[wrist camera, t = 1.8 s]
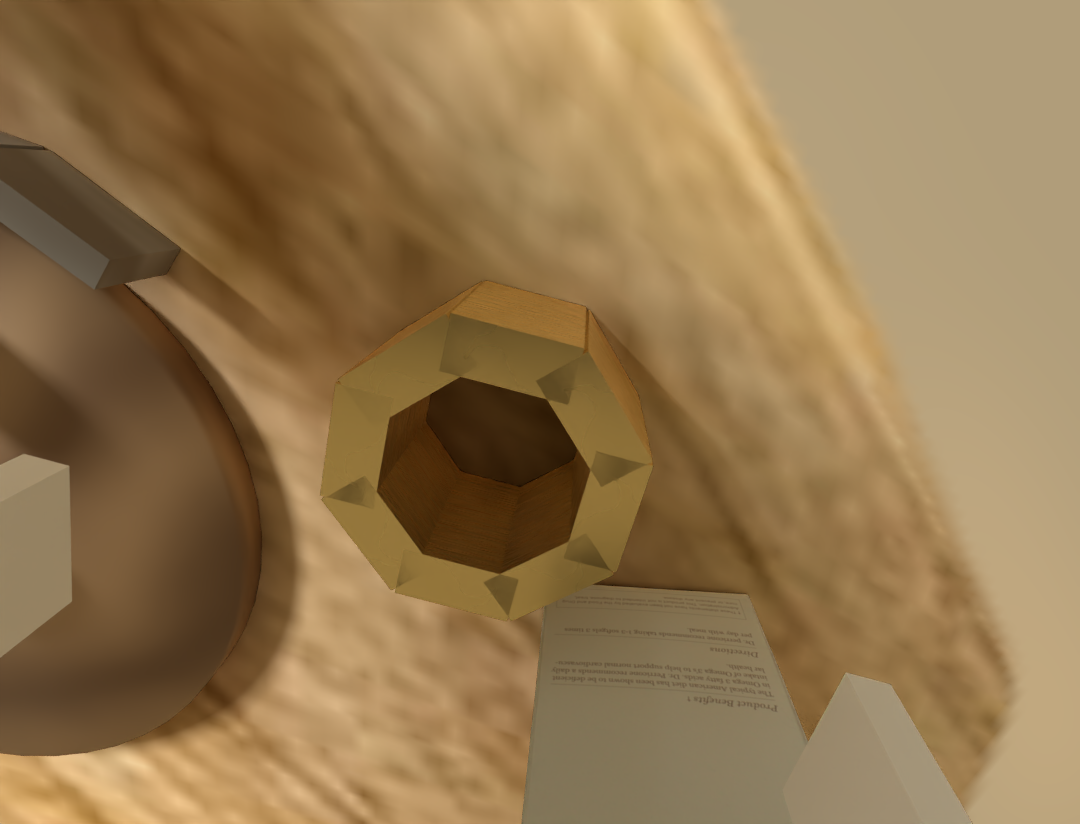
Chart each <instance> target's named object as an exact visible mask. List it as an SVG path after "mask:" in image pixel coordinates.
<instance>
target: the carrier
mask: <svg viewBox="0 0 1080 824" xmlns="http://www.w3.org/2000/svg"><path fill="white" fill-rule="evenodd" d="M180 249H181V248H179V247H178V246H177V245H175V244H174V243H173V242H171V241H170V240H169V239H167V238H166V237H165V236H163V235H162V234H161V233H159V232H158V231H157V230H155V229H154V228H153V227H151V226H150V225H149V224H147V223H146V222H145V221H143V220H142V219H141V218H140V217H138V216H137V215H136V214H134V213H133V212H132V211H130V210H129V209H128V208H126V207H125V206H124V205H122V204H121V203H120V202H118V201H117V200H116V199H114V198H113V197H112V196H110V195H109V194H108V193H106V192H105V191H104V190H102V189H101V188H100V187H98V186H97V185H96V184H94V183H93V182H92V181H90V180H89V179H88V178H87V177H85V176H84V175H83V174H81V173H80V172H79V171H77V170H76V169H75V168H73V167H72V166H71V165H69V164H68V163H67V162H65V161H64V160H63V159H61V158H60V157H59V156H57V155H56V154H55V153H53V152H52V151H49V150H44V147H43V146H40V145H37V144H35V143H32V142H29V141H26V140H23V139H21V138H18V137H15V136H12V135H9V134H7V133H4V132H1V131H0V465H1V464H3V463H5V462H7V461H10V460H12V459H14V458H16V457H18V456H20V455H22V454H27V455H30V456H34V457H38V458H42V459H45V460H49V461H53V462H57V463H60V464H64V465H68V466H69V474H70V523H71V572H72V602H71V603H69V604H68V605H67V606H65V607H64V608H63V609H62V610H60V611H59V612H58V613H57V614H55V615H54V616H53V617H51V618H50V619H49V620H48V621H46V622H45V623H44V624H43V625H41V626H40V627H39V628H37V629H36V630H35V631H34V632H32V633H31V634H30V635H29V636H27V637H26V638H25V639H23V640H22V641H21V642H20V643H18V644H17V645H16V646H14V647H13V648H12V649H11V650H9V651H8V652H7V653H6V654H4V655H3V656H2V657H0V753H3V754H12V755H21V756H60V755H69V754H79V753H88V752H92V751H96V750H100V749H104V748H109V747H113V746H117V745H119V744H122V743H125V742H127V741H130V740H132V739H135V738H137V737H140V736H143V735H145V734H146V733H148V732H150V731H152V730H153V729H155V728H157V727H159V726H160V725H162V724H164V723H165V722H167V721H169V720H170V719H171V718H172V717H174V716H175V715H176V714H177V713H179V712H180V711H181V710H182V709H183V708H185V707H186V706H187V705H188V704H189V703H191V701H192V700H193V699H194V698H195V697H196V696H197V694H198V693H199V692H200V691H201V690H202V688H203V687H204V686H205V685H206V684H207V683H208V681H209V680H210V679H211V678H212V676H213V675H214V674H215V672H216V671H217V670H218V668H219V667H220V666H221V665H222V663H223V662H224V661H225V659H226V658H227V657H228V655H229V654H230V653H231V651H232V650H233V648H234V646H235V644H236V643H237V641H238V639H239V638H240V636H241V634H242V632H243V631H244V629H245V627H246V624H247V621H248V619H249V616H250V613H251V611H252V608H253V605H254V602H255V599H256V594H257V588H258V583H259V577H260V572H261V547H262V534H261V526H260V518H259V510H258V502H257V497H256V494H255V490H254V486H253V482H252V478H251V475H250V471H249V467H248V463H247V461H246V458H245V456H244V453H243V451H242V448H241V446H240V444H239V441H238V439H237V436H236V434H235V431H234V429H233V426H232V424H231V422H230V420H229V419H228V417H227V415H226V413H225V411H224V409H223V408H222V406H221V404H220V402H219V400H218V398H217V397H216V395H215V393H214V391H213V389H212V387H211V386H210V384H209V383H208V381H207V380H206V379H205V377H204V376H203V374H202V373H201V371H200V370H199V369H198V367H197V366H196V364H195V363H194V361H193V360H192V359H191V357H190V356H189V354H188V353H187V351H186V350H185V349H184V347H183V346H182V345H181V344H180V343H179V342H178V340H177V339H176V338H175V337H174V336H173V335H172V333H171V332H170V331H169V330H168V329H167V328H166V327H165V325H164V324H163V323H162V322H161V321H160V320H159V319H158V317H157V316H156V315H155V314H154V313H153V312H152V311H151V310H150V309H149V308H148V307H147V306H146V305H145V304H144V303H143V302H142V301H141V300H140V299H139V298H137V297H136V296H135V295H134V294H133V293H132V292H131V291H130V290H129V289H128V288H127V287H126V286H125V285H124V284H123V283H127V282H132V281H137V280H141V279H146V278H151V277H155V276H160V275H164V274H167V272H168V270H169V268H170V266H171V265H172V263H173V261H174V259H175V258H176V256H177V254H178V252H179V250H180Z"/></svg>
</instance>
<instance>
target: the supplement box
mask: <svg viewBox="0 0 1080 824" xmlns="http://www.w3.org/2000/svg"><path fill="white" fill-rule="evenodd" d="M807 743H808V740H807V738H806V735H805V733H804V730H803V728H802V725H801V723H800V720H799V718H798V715H797V712H796V710H795V707H794V705H793V702H792V700H791V697H790V695H789V692H788V690H787V687H786V685H785V682H784V680H783V677H782V675H781V672H780V670H779V667H778V665H777V662H776V660H775V657H774V655H773V653H772V650H771V648H770V646H769V644H768V641H767V639H766V636H765V634H764V631H763V629H762V626H761V624H760V622H759V619H758V617H757V614H756V612H755V609H754V607H753V604H752V602H751V600H750V597H749V596H748V595H746V594H734V593H716V592H700V591H683V590H667V589H651V588H636V587H620V586H605V585H591V586H588V587H586V588H584V589H582V590H580V591H577V592H575V593H573V594H571V595H568V596H566V597H564V598H562V599H560V600H557V601H555V602H553V603H551V604H548V605H546V606H544V612H543V621H542V631H541V641H540V651H539V661H538V671H537V681H536V690H535V700H534V709H533V718H532V727H531V737H530V746H529V756H528V765H527V775H526V785H525V794H524V804H523V814H522V823H521V824H793V823H792V820H791V817H790V814H789V810H788V807H787V804H786V801H785V797H784V794H783V791H782V789H783V788H784V786H785V784H786V782H787V780H788V778H789V776H790V775H791V773H792V771H793V769H794V767H795V765H796V763H797V762H798V760H799V758H800V756H801V754H802V752H803V750H804V749H805V747H806V745H807Z"/></svg>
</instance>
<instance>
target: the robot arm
mask: <svg viewBox="0 0 1080 824" xmlns="http://www.w3.org/2000/svg"><path fill="white" fill-rule="evenodd" d="M71 602H72V572H71V523H70V474H69V466H68V465H64V464H60V463H57V462H53V461H49V460H45V459H42V458H38V457H34V456H30V455H27V454H22V455H20V456H18V457H16V458H14V459H12V460H10V461H7V462H5V463H3V464H1V465H0V657H2V656H3V655H4V654H6V653H7V652H8V651H9V650H11V649H12V648H13V647H14V646H16V645H17V644H18V643H20V642H21V641H22V640H23V639H25V638H26V637H27V636H29V635H30V634H31V633H32V632H34V631H35V630H36V629H37V628H39V627H40V626H41V625H43V624H44V623H45V622H46V621H48V620H49V619H50V618H51V617H53V616H54V615H55V614H57V613H58V612H59V611H60V610H62V609H63V608H64V607H65V606H67V605H68V604H69V603H71ZM782 791H783V794H784V797H785V801H786V804H787V807H788V810H789V814H790V817H791V820H792V823H793V824H973V823H972V821H971V820H970V818H969V816H968V815H967V813H966V811H965V809H964V808H963V806H962V804H961V803H960V801H959V799H958V798H957V796H956V794H955V792H954V791H953V789H952V787H951V786H950V784H949V782H948V781H947V779H946V777H945V775H944V774H943V772H942V770H941V769H940V767H939V765H938V764H937V762H936V760H935V758H934V757H933V755H932V753H931V752H930V750H929V748H928V747H927V745H926V743H925V742H924V740H923V738H922V736H921V735H920V733H919V731H918V730H917V728H916V726H915V725H914V723H913V721H912V719H911V718H910V716H909V714H908V713H907V711H906V709H905V708H904V706H903V704H902V702H901V701H900V699H899V697H898V696H897V694H896V692H895V691H894V689H893V687H892V686H891V684H888V683H884V682H880V681H877V680H873V679H869V678H865V677H862V676H858V675H854V674H850V673H846V672H845V674H844V676H843V678H842V680H841V682H840V684H839V685H838V687H837V689H836V691H835V693H834V695H833V697H832V698H831V700H830V702H829V704H828V706H827V708H826V710H825V711H824V713H823V715H822V717H821V719H820V721H819V723H818V724H817V726H816V728H815V730H814V732H813V734H812V736H811V737H810V739H809V741H808V743H807V745H806V747H805V749H804V750H803V752H802V754H801V756H800V758H799V760H798V762H797V763H796V765H795V767H794V769H793V771H792V773H791V775H790V776H789V778H788V780H787V782H786V784H785V786H784V788H783V789H782Z"/></svg>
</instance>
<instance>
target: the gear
mask: <svg viewBox="0 0 1080 824" xmlns="http://www.w3.org/2000/svg"><path fill="white" fill-rule="evenodd" d="M459 377H464V378H467V379H471V380H475V381H479V382H483V383H486V384H490V385H494V386H498V387H502V388H506V389H509V390H513V391H517V392H521V393H525V394H528V395H532V396H536V397H540V398H544V399H547V400H548V402H549V404H550V405H551V407H552V408H553V410H554V412H555V413H556V415H557V416H558V418H559V420H560V421H561V423H562V425H563V426H564V428H565V429H566V431H567V433H568V434H569V436H570V437H571V439H572V441H573V442H574V444H575V446H576V447H577V451H576V455H575V458H574V460H572V461H570V462H568V463H566V464H564V465H562V466H561V467H559V468H557V469H555V470H553V471H551V472H549V473H547V474H545V475H543V476H541V477H539V478H537V479H535V480H533V481H531V482H529V483H527V484H525V485H523V486H521V487H519V486H515V485H511V484H507V483H503V482H500V481H496V480H492V479H488V478H484V477H480V476H477V475H473V474H469V473H465V472H461V471H460V470H459V468H458V467H457V465H456V464H455V462H454V461H453V460H452V458H451V457H450V455H449V454H448V452H447V451H446V449H445V448H444V446H443V445H442V444H441V442H440V441H439V439H438V438H437V436H436V435H435V433H434V432H433V430H432V429H431V428H430V426H429V425H428V423H427V422H426V418H427V413H428V408H429V403H430V398H431V393H433V392H435V391H437V390H438V389H440V388H442V387H444V386H445V385H447V384H449V383H450V382H452V381H454V380H456V379H457V378H459ZM338 380H339V381H337V382H336V383H335V390H334V397H333V405H332V412H331V419H330V426H329V434H328V441H327V448H326V455H325V463H324V470H323V477H322V485H321V492H320V495H321V496H324V497H323V498H322V499H321V500H322V501H323V502H324V504H325V505H326V506H327V508H328V509H329V510H330V511H331V513H332V514H333V515H334V517H335V518H336V519H337V521H338V522H339V523H340V524H341V526H342V527H343V528H344V530H345V531H346V532H347V534H348V535H349V536H350V537H351V539H352V540H353V541H354V543H355V544H356V545H357V547H358V548H359V549H360V550H361V552H362V553H363V554H364V556H365V557H366V558H367V560H368V561H369V562H370V563H371V565H372V566H373V567H374V569H375V570H376V571H377V572H378V574H379V575H380V576H381V578H382V579H383V580H384V582H385V583H386V584H387V585H388V587H389V588H390V589H391V590H393V589H395V588H396V590H395V593H398V594H402V595H406V596H410V597H414V598H418V599H421V600H425V601H429V602H433V603H437V604H441V605H445V606H449V607H453V608H456V609H460V610H464V611H468V612H472V613H476V614H480V615H484V616H487V617H491V618H495V619H499V620H503V621H507V620H508V617H509V619H510V620H511V621H513V620H515V619H517V618H520V617H522V616H524V615H526V614H528V613H531V612H533V611H535V610H537V609H540V608H542V607H544V606H546V605H548V604H551V603H553V602H555V601H557V600H560V599H562V598H564V597H566V596H568V595H571V594H573V593H575V592H577V591H580V590H582V589H584V588H586V587H588V586H591V585H593V584H595V583H597V582H600V581H602V580H604V579H606V578H608V577H611V576H613V571H614V572H617V569H618V566H619V563H620V560H621V558H622V555H623V552H624V549H625V546H626V543H627V540H628V538H629V535H630V532H631V529H632V526H633V523H634V520H635V517H636V515H637V512H638V509H639V506H640V503H641V500H642V497H643V495H644V492H645V489H646V486H647V483H648V480H649V477H650V474H651V472H652V469H653V460H652V455H651V450H650V446H649V441H648V436H647V432H646V427H645V423H644V418H643V413H642V409H641V404H640V399H639V395H638V393H637V391H636V390H635V388H634V386H633V384H632V383H631V381H630V379H629V377H628V376H627V374H626V372H625V370H624V369H623V367H622V365H621V363H620V362H619V360H618V358H617V356H616V355H615V353H614V351H613V349H612V348H611V346H610V344H609V342H608V341H607V339H606V337H605V335H604V334H603V332H602V330H601V328H600V327H599V325H598V323H597V321H596V320H595V318H594V316H593V314H592V313H591V311H590V309H589V310H587V311H586V307H585V306H581V305H577V304H574V303H570V302H566V301H562V300H559V299H555V298H551V297H547V296H543V295H540V294H536V293H532V292H528V291H525V290H521V289H517V288H513V287H509V286H506V285H502V284H498V283H494V282H490V281H487V280H486V281H485V282H484V283H483V282H482V281H481V282H480V283H478V284H476V285H475V286H473V287H471V288H470V289H468V290H466V291H465V292H463V293H462V294H460V295H458V296H457V297H455V298H453V299H452V300H450V301H449V302H447V303H445V304H444V305H442V306H440V307H439V308H437V309H435V310H434V311H432V312H431V313H429V314H427V315H426V316H424V317H422V318H421V319H419V320H418V321H416V322H414V323H413V324H411V325H409V326H408V327H406V328H404V329H403V330H401V331H400V332H398V333H397V334H396V335H394V336H393V337H392V338H390V339H389V340H388V341H387V342H385V343H384V344H383V345H381V346H380V347H379V348H378V349H376V350H375V351H374V352H372V353H371V354H370V355H369V356H367V357H366V358H365V359H363V360H362V361H361V362H360V363H358V364H357V365H356V366H354V367H353V368H352V369H350V370H349V371H348V372H347V373H345V374H344V375H343V376H341V377H340V378H339V379H338Z"/></svg>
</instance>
